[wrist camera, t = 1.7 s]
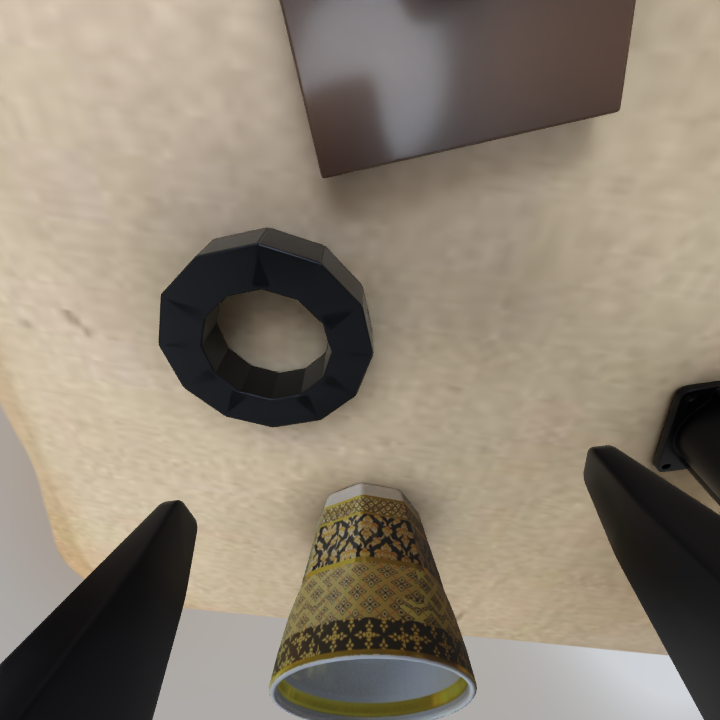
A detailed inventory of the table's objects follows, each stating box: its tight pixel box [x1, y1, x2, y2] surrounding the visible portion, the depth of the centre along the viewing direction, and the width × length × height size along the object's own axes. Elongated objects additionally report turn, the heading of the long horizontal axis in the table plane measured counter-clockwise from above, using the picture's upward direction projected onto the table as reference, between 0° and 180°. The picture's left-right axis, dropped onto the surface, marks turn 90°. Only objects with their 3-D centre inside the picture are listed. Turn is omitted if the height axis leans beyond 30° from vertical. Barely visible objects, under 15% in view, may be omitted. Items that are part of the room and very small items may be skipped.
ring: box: [159, 228, 373, 427], centre depth 18 cm, size 9×9×2 cm
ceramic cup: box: [269, 483, 477, 720], centre depth 24 cm, size 13×10×10 cm
